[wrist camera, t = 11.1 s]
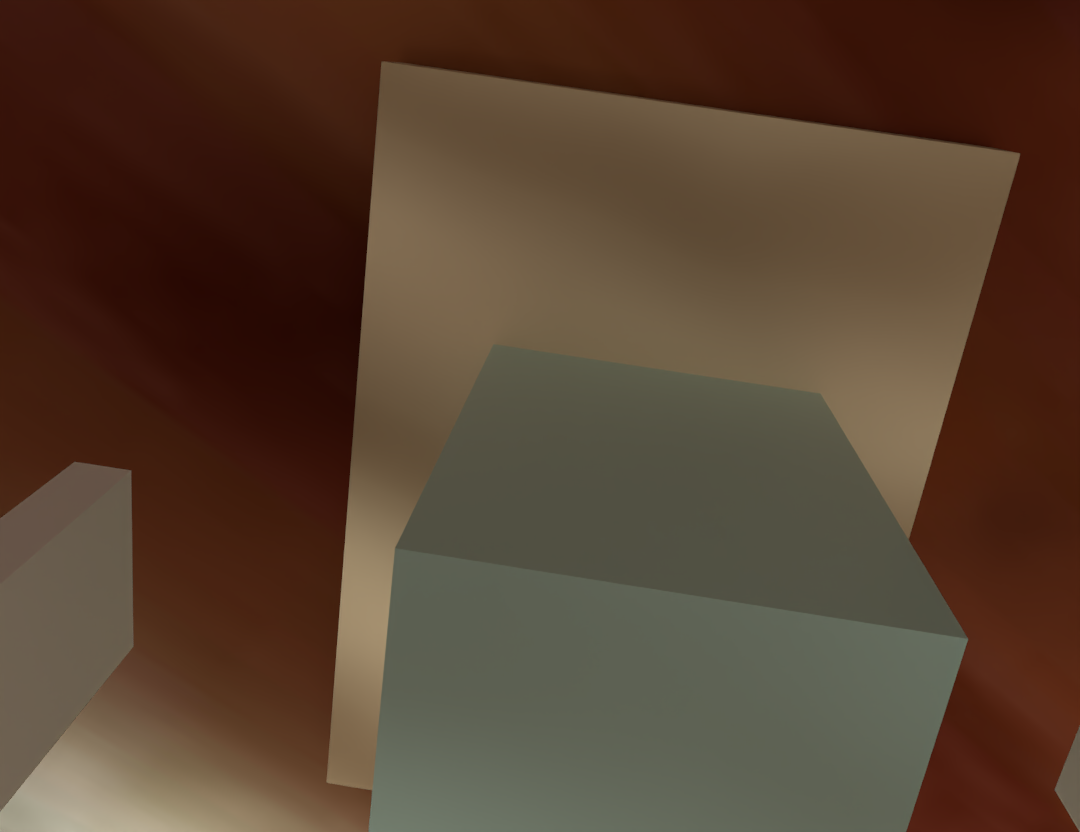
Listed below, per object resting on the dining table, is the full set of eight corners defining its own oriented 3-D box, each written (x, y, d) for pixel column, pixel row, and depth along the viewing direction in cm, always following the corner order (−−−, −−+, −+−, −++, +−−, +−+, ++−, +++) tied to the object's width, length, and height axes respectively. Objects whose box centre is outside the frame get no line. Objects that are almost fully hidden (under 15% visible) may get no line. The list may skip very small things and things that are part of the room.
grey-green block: (459, 626, 19) (355, 974, 12) (493, 343, 17) (394, 547, 10) (753, 674, 19) (834, 1057, 11) (820, 393, 17) (967, 639, 10)
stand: (397, 61, 17) (243, 57, 10) (992, 147, 16) (1252, 202, 10) (342, 745, 21) (211, 1057, 15) (804, 822, 21) (888, 1176, 14)
